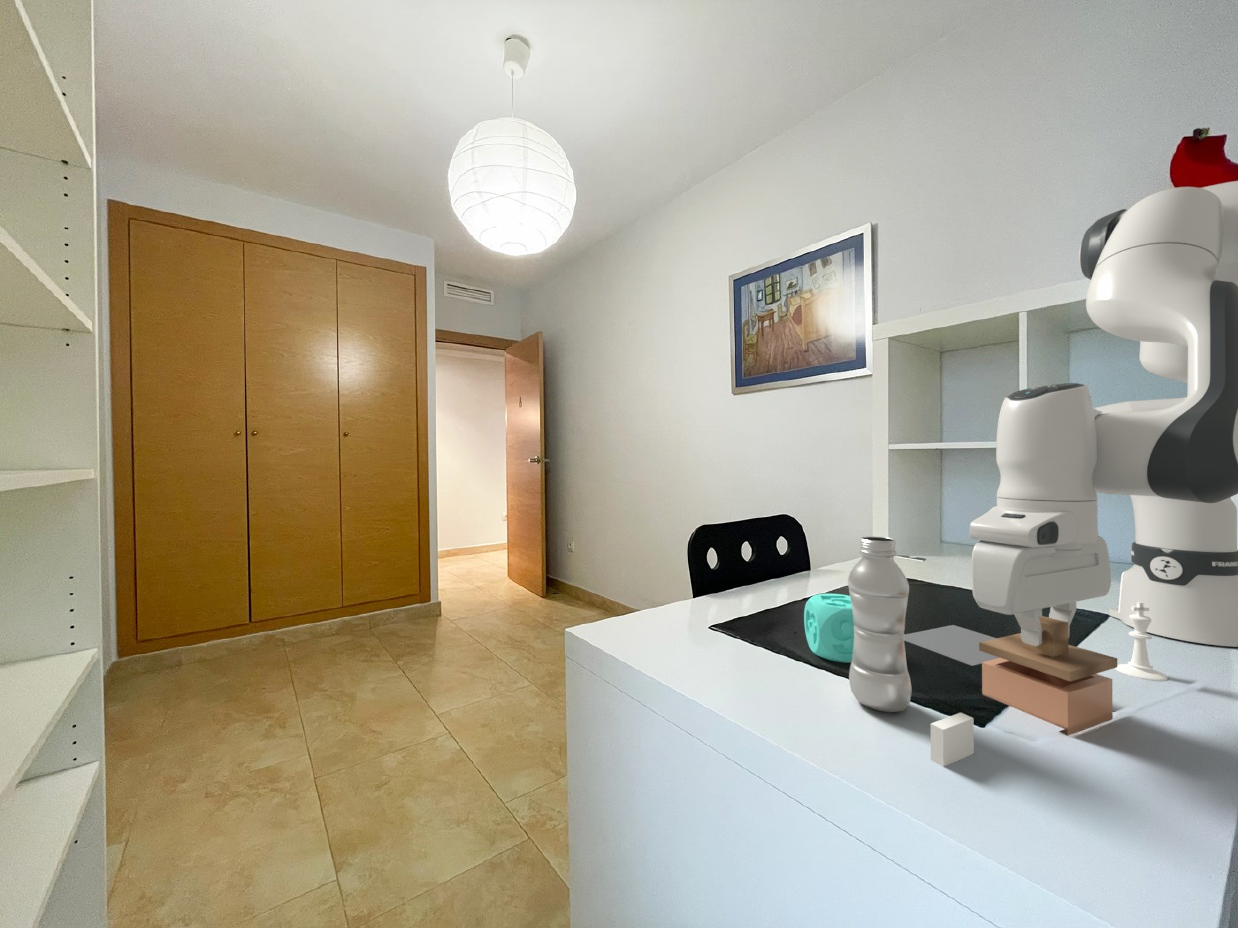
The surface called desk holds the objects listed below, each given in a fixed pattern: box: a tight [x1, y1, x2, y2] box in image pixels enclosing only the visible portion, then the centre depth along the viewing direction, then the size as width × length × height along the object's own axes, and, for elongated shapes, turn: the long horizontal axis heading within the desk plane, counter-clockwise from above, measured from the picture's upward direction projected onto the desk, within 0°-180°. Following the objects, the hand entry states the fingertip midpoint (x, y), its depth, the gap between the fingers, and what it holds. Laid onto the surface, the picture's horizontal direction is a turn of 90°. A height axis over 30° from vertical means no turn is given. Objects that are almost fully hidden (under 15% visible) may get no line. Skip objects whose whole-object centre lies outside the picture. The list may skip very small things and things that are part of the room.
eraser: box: [930, 712, 975, 767], centre depth 48 cm, size 1×5×4 cm, turn 115°
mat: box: [904, 624, 1000, 667], centre depth 75 cm, size 14×12×1 cm
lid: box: [979, 615, 1118, 681], centre depth 56 cm, size 9×9×4 cm
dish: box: [981, 658, 1114, 736], centre depth 56 cm, size 8×8×4 cm
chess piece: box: [1114, 602, 1169, 682], centre depth 64 cm, size 5×5×10 cm
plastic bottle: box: [847, 536, 913, 713], centre depth 58 cm, size 6×7×20 cm
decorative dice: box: [803, 593, 854, 664], centre depth 74 cm, size 8×8×8 cm
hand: (1045, 641), depth 56 cm, fingers closed on lid, 3 cm apart
